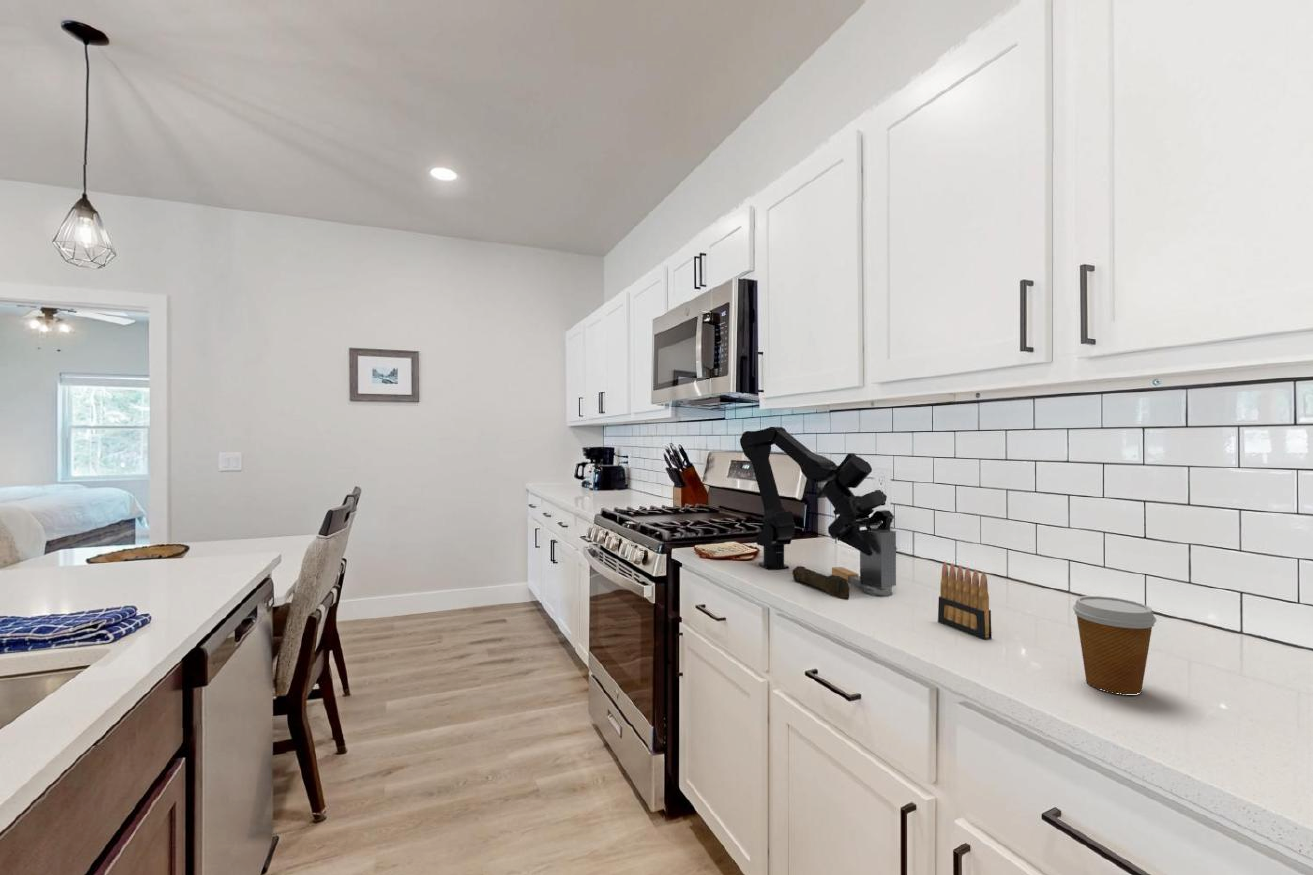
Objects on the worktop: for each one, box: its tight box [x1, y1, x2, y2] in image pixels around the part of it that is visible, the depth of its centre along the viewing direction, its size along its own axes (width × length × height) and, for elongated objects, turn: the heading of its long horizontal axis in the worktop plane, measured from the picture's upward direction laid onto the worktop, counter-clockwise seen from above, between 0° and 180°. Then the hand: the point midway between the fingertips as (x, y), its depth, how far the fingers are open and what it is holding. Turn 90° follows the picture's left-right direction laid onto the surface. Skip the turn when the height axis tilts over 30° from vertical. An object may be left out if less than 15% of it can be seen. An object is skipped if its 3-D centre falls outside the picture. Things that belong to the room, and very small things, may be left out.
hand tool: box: [792, 565, 850, 600], centre depth 137 cm, size 19×4×5 cm, turn 19°
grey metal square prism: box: [859, 528, 897, 589], centre depth 134 cm, size 6×6×12 cm
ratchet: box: [831, 566, 893, 598], centre depth 142 cm, size 22×6×5 cm, turn 12°
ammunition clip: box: [937, 561, 993, 641], centre depth 108 cm, size 11×2×12 cm, turn 19°
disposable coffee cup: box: [1072, 595, 1158, 694], centre depth 84 cm, size 10×10×12 cm
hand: (883, 552), depth 133 cm, fingers open, 9 cm apart
